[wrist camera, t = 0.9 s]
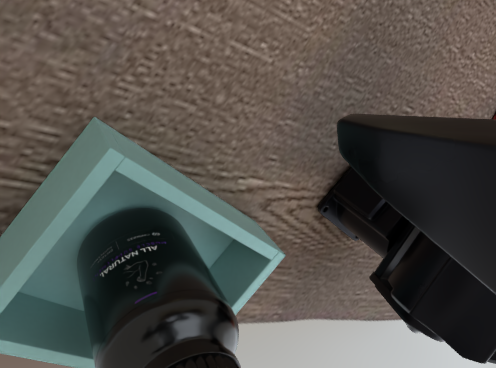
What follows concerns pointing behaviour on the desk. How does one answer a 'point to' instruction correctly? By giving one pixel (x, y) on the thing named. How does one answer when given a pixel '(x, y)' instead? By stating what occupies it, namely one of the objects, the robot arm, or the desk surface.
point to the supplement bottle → (152, 296)
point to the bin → (92, 213)
